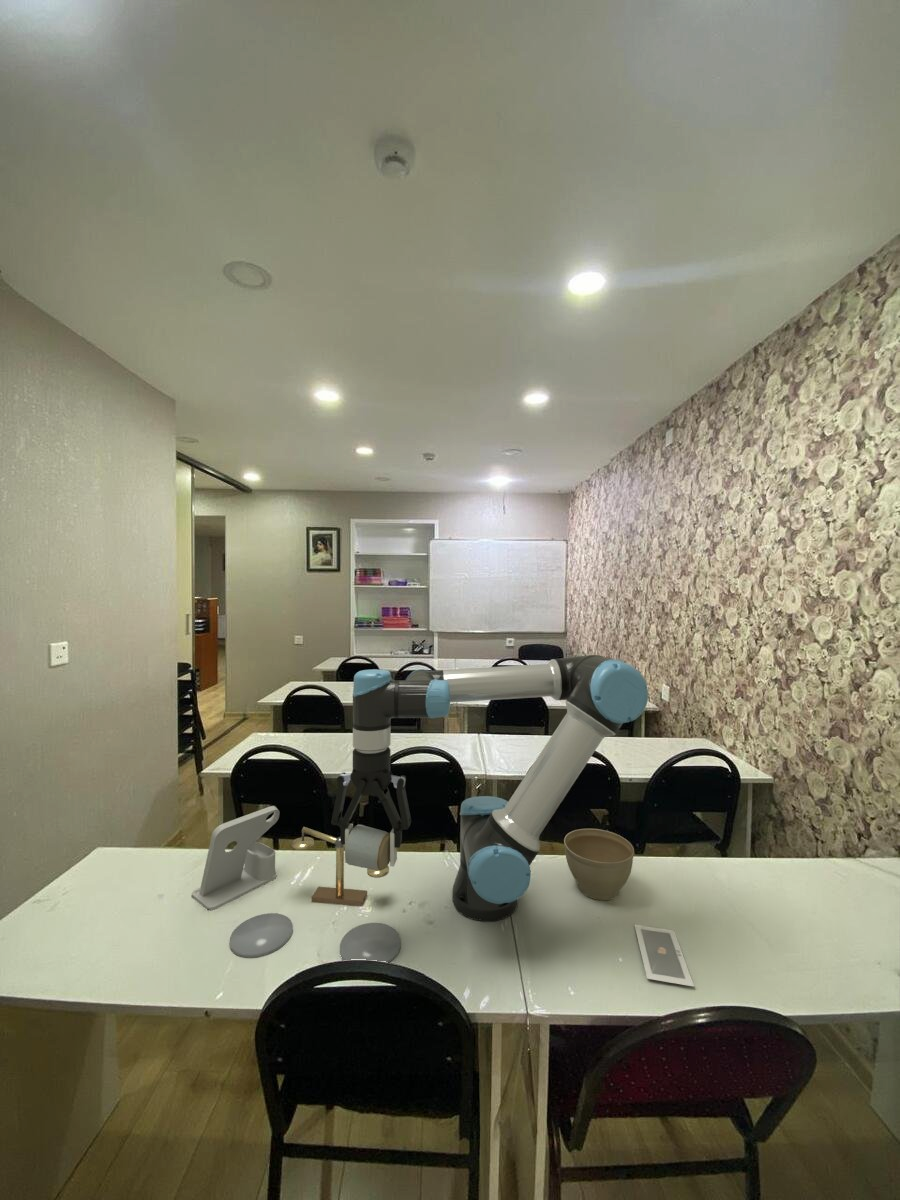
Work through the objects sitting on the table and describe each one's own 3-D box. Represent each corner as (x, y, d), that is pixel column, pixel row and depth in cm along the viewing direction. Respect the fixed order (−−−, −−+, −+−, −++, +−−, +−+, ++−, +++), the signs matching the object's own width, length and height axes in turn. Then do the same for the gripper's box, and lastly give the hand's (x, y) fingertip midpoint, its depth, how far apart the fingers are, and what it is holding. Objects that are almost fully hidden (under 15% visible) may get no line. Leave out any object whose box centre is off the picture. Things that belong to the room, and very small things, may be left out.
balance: (391, 896, 111) (391, 827, 111) (385, 910, 106) (386, 838, 106) (296, 888, 113) (297, 821, 114) (287, 901, 108) (288, 831, 109)
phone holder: (258, 863, 124) (259, 794, 125) (280, 877, 118) (281, 805, 118) (189, 895, 111) (190, 818, 111) (210, 912, 104) (211, 831, 105)
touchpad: (647, 984, 86) (647, 972, 86) (634, 929, 101) (634, 919, 101) (694, 992, 84) (694, 980, 84) (674, 935, 99) (674, 925, 99)
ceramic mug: (380, 879, 90) (380, 839, 90) (343, 871, 92) (344, 833, 92) (401, 853, 99) (402, 817, 100) (368, 847, 102) (368, 812, 102)
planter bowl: (556, 871, 122) (556, 828, 122) (617, 870, 123) (617, 828, 123) (575, 911, 106) (575, 862, 106) (645, 910, 106) (646, 861, 107)
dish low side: (406, 929, 100) (406, 925, 100) (392, 973, 88) (392, 968, 88) (351, 924, 101) (351, 920, 101) (330, 966, 89) (330, 962, 89)
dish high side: (302, 919, 102) (302, 915, 102) (275, 960, 90) (275, 956, 90) (250, 914, 104) (250, 910, 104) (216, 954, 92) (216, 950, 92)
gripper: (427, 744, 97) (426, 854, 97) (327, 740, 100) (327, 848, 100) (420, 755, 90) (419, 875, 89) (313, 751, 92) (312, 867, 92)
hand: (371, 860), depth 95 cm, fingers closed on ceramic mug, 8 cm apart
